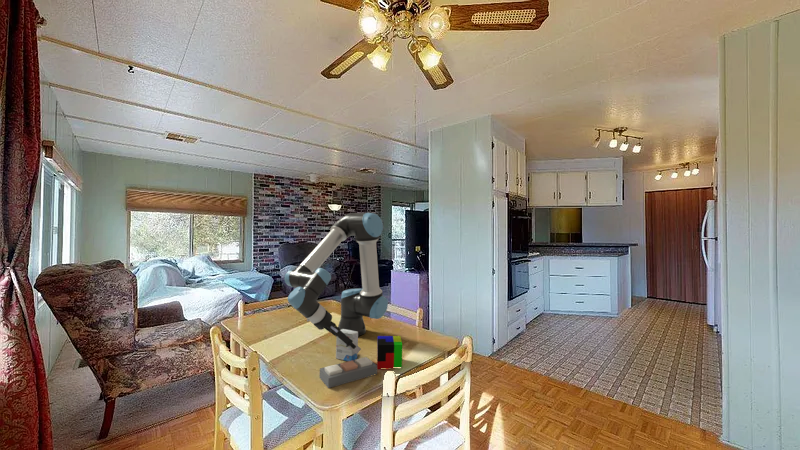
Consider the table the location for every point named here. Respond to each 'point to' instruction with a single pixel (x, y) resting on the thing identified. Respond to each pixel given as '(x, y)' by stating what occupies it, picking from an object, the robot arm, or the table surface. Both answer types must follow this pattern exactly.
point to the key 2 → (363, 362)
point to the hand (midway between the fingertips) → (353, 347)
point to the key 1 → (332, 369)
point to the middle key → (348, 365)
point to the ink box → (341, 348)
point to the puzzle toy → (389, 352)
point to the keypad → (347, 375)
